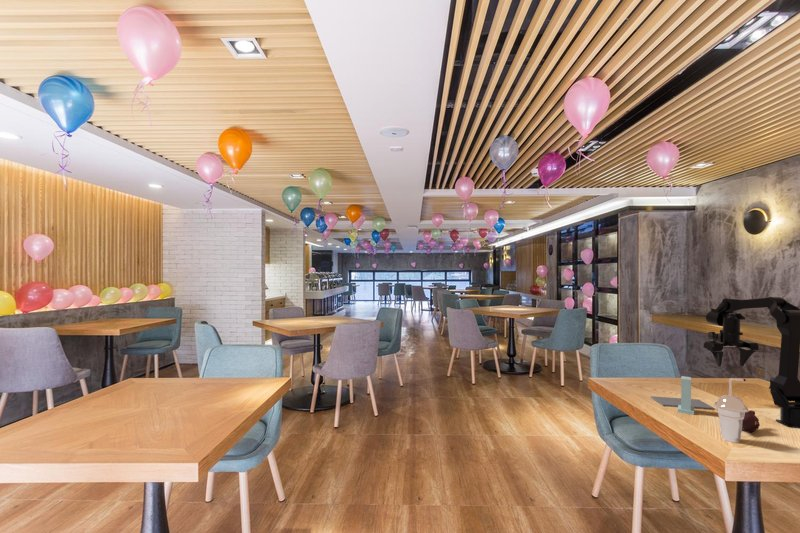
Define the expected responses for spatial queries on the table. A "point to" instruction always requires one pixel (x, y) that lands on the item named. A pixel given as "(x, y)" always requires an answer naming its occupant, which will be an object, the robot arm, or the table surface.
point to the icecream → (750, 422)
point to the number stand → (686, 396)
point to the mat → (677, 401)
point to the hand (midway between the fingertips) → (730, 366)
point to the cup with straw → (731, 414)
